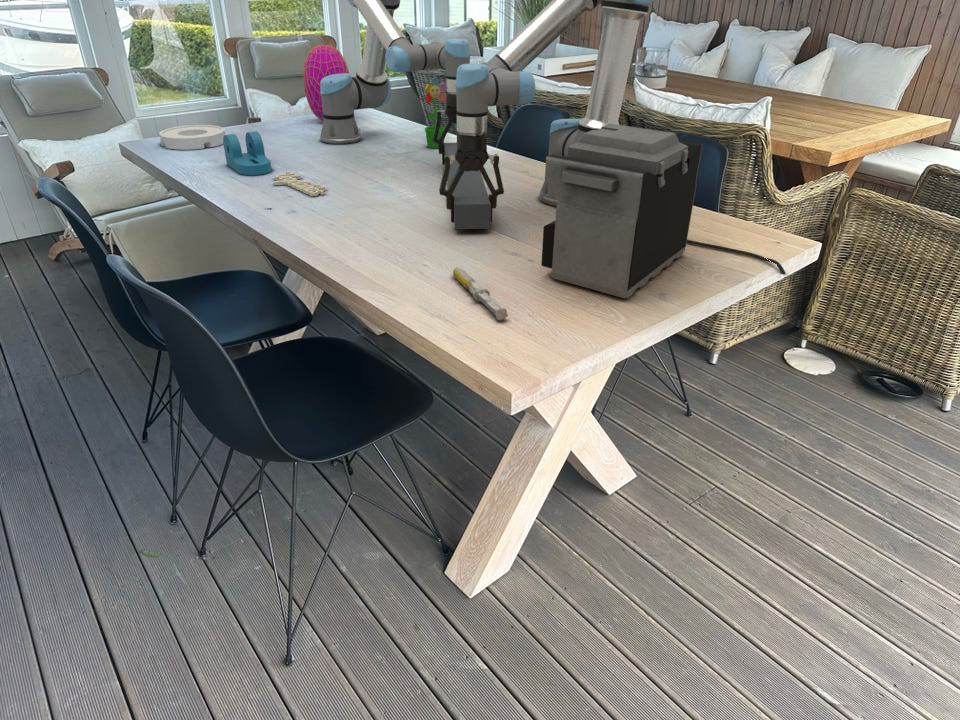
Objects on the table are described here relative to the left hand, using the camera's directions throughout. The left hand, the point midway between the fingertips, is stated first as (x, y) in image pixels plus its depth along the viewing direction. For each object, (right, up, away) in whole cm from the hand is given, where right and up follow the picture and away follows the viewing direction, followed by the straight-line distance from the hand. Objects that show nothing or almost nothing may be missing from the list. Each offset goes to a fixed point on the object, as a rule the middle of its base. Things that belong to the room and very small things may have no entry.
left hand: (458, 163), depth 230 cm
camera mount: (-69, -2, -1) cm, 69 cm away
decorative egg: (-57, +36, +65) cm, 93 cm away
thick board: (+3, -15, -25) cm, 29 cm away
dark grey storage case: (+39, -44, -70) cm, 91 cm away
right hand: (+5, -29, -50) cm, 58 cm away
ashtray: (-101, +16, +30) cm, 106 cm away
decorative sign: (-49, -12, -17) cm, 54 cm away
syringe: (+7, -53, -85) cm, 100 cm away
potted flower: (-9, +14, +29) cm, 33 cm away
